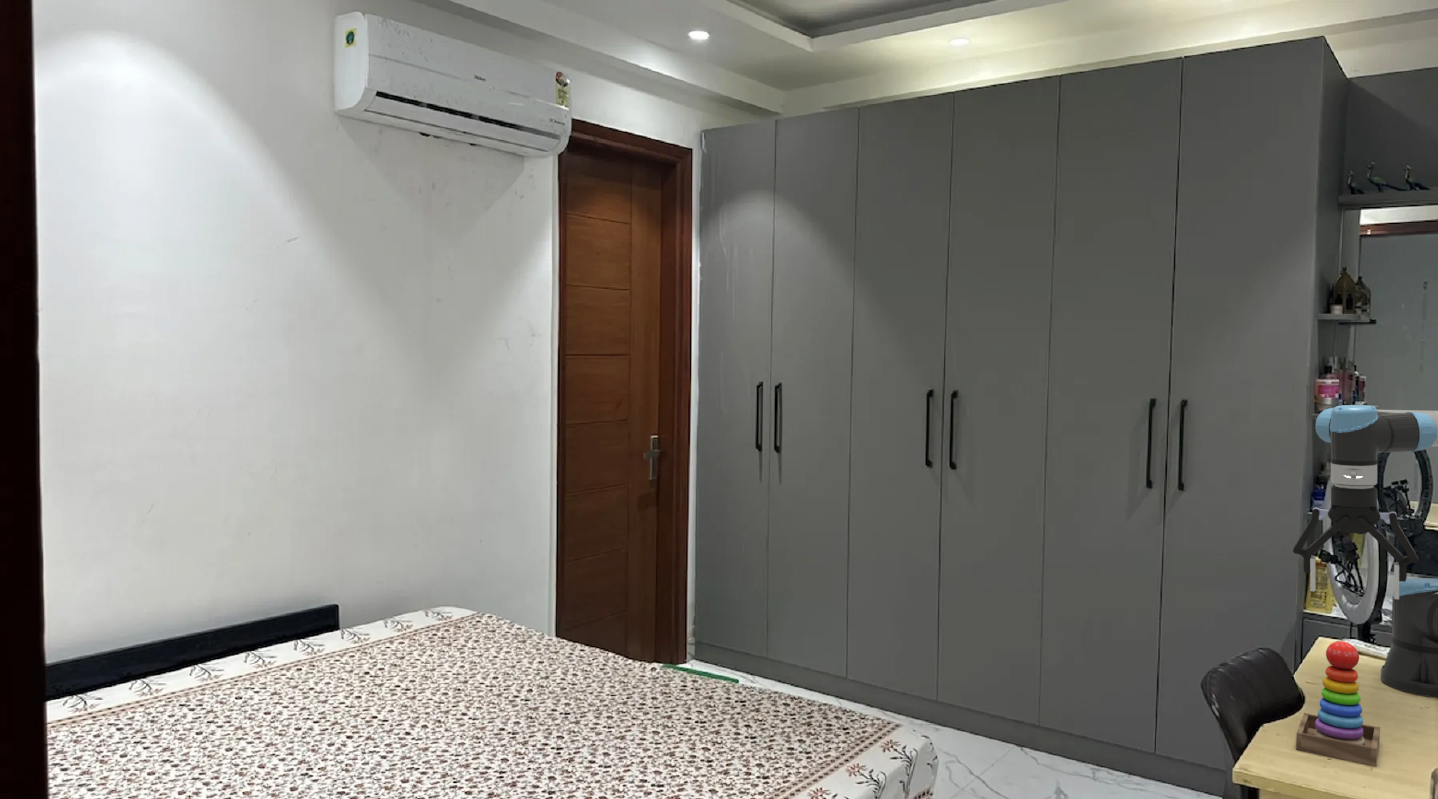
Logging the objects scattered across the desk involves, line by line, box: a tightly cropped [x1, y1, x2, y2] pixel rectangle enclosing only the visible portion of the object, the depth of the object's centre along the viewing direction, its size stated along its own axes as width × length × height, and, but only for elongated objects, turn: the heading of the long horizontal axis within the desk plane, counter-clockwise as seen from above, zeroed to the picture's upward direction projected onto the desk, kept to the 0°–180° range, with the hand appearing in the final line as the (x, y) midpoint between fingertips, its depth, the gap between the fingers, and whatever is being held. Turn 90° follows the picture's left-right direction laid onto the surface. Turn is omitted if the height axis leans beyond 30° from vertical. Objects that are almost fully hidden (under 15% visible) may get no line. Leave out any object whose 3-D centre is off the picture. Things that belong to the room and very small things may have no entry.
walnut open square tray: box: [1295, 712, 1381, 767], centre depth 177 cm, size 12×12×3 cm
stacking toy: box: [1314, 640, 1365, 745], centre depth 176 cm, size 8×8×19 cm
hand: (1353, 593), depth 189 cm, fingers open, 13 cm apart
